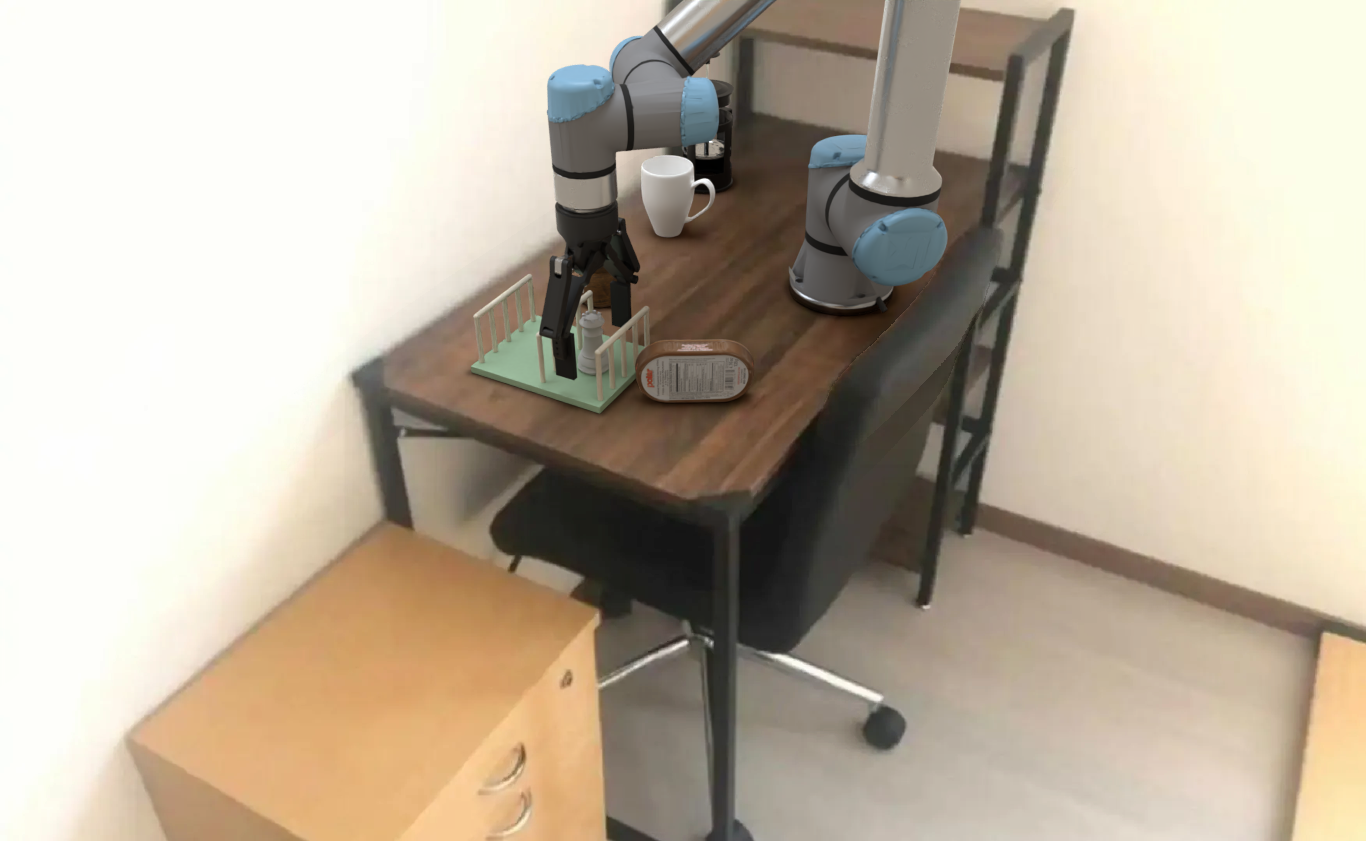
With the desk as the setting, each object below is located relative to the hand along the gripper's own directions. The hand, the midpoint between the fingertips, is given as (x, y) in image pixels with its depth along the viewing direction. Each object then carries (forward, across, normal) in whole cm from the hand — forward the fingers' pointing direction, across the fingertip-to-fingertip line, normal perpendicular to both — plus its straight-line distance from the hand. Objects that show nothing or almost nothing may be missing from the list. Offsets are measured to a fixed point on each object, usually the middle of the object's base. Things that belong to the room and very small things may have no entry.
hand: (595, 350), depth 146 cm
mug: (+4, -41, -10) cm, 42 cm away
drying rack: (+4, 0, -5) cm, 6 cm away
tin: (+4, -1, +14) cm, 15 cm away
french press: (+4, -61, -15) cm, 63 cm away
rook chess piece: (+3, 0, 0) cm, 3 cm away
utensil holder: (+4, -17, -10) cm, 20 cm away
